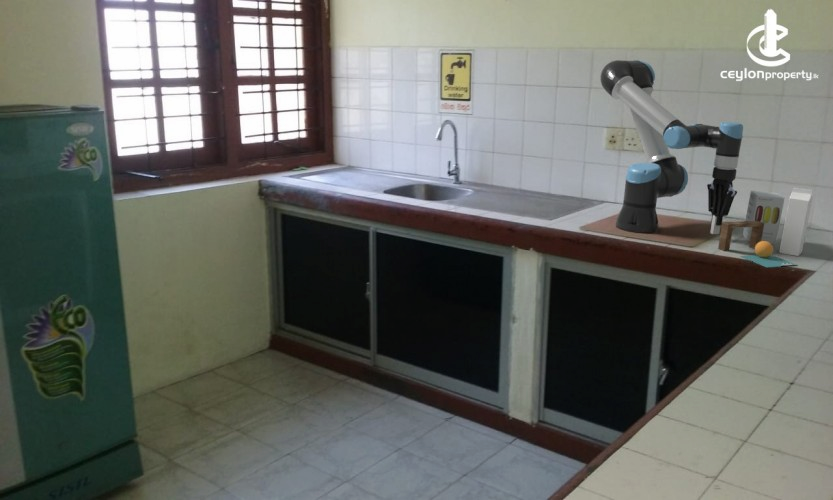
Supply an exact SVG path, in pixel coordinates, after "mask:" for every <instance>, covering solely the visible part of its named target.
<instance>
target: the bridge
mask: <svg viewBox="0 0 833 500" xmlns="http://www.w3.org/2000/svg"><path fill="white" fill-rule="evenodd" d="M744 227H752V231H751V237H750V242H748V248H751V249H753V250H755V246H756V244H757V243H759V242H761V239H762V233H763V228H764V223H763V222H760V221H744V220H743V221H722V225H721V227H720V233H719V235H720V236H719V242H718V247H717V249H718V250H721V251H723V252H729V251H730V247H731V242H732V235H733V229H735V228H744Z"/></svg>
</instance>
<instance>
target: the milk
mask: <svg viewBox="0 0 833 500" xmlns="http://www.w3.org/2000/svg"><path fill="white" fill-rule="evenodd" d="M812 202H813V189H808V188H801V187H792V190H791V194H790V196H789V198H788V203H787V210H786V214H785V220H784V225H783V230H782V236H781V240H780V241H781V242H780V247H779V252H778V253H779V254H785V255H790V256H796V257H799V256H800V255H801V254H802V252H803V249H804V243H805V239H806V234H807V227H808V223H809V217H810V212H811V207H812Z"/></svg>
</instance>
